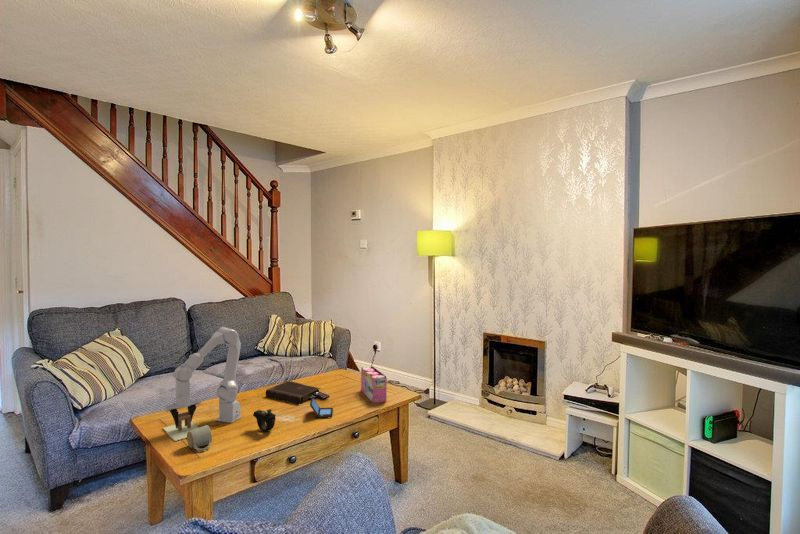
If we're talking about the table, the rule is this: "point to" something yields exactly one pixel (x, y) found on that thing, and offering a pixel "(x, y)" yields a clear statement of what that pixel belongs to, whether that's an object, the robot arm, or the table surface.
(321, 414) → the handheld game console
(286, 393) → the black media player box
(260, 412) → the controller
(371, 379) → the gum box
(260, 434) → the table surface
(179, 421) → the stool
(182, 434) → the mat
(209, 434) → the ceramic mug
